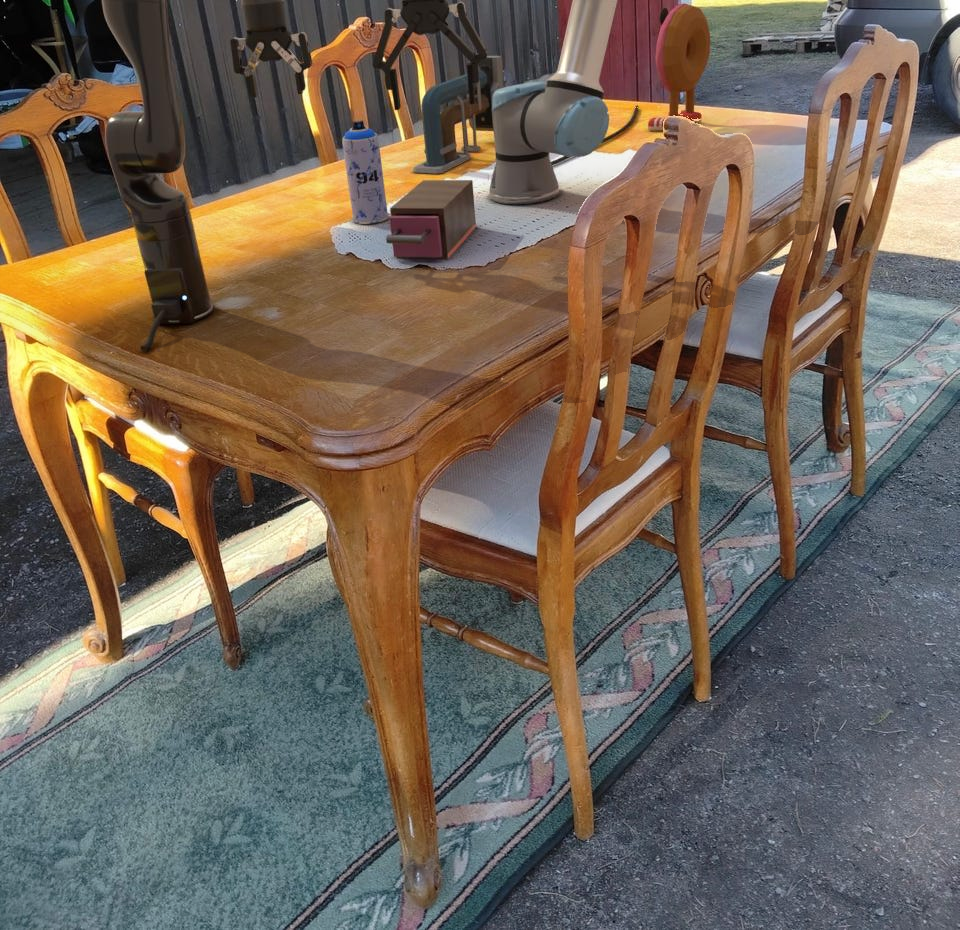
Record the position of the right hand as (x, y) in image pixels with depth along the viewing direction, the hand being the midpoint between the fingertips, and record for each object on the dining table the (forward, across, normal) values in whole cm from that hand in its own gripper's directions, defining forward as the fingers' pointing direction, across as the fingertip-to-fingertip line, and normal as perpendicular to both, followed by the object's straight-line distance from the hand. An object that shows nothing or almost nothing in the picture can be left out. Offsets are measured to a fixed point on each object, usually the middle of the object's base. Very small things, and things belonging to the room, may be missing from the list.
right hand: (435, 105), depth 174 cm
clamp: (+27, +4, -73) cm, 78 cm away
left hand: (-3, +30, -7) cm, 31 cm away
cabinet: (+26, +3, -3) cm, 26 cm away
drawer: (+25, +4, +3) cm, 25 cm away
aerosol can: (+26, +19, -21) cm, 38 cm away
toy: (+28, -54, -92) cm, 110 cm away
